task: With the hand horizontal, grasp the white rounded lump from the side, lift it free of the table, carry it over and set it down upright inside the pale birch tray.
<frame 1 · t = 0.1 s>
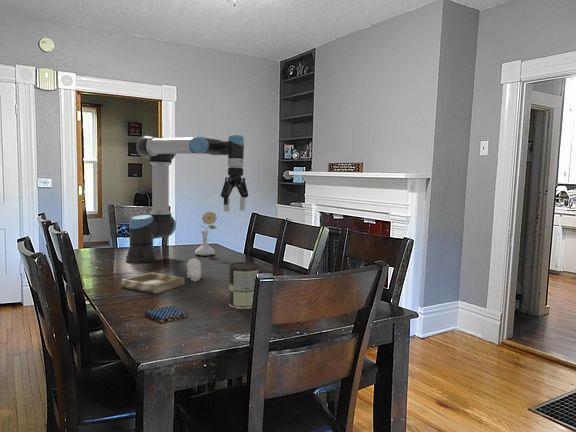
hand: (234, 211, 213), 28 cm above the table, tool pointing down, fingers open, 13 cm apart
white rounded lump: (194, 279, 188), on the table
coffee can: (243, 305, 151), on the table
flower in vase: (206, 255, 247), on the table
woven mat: (166, 318, 137), on the table
birch tray: (153, 285, 175), on the table
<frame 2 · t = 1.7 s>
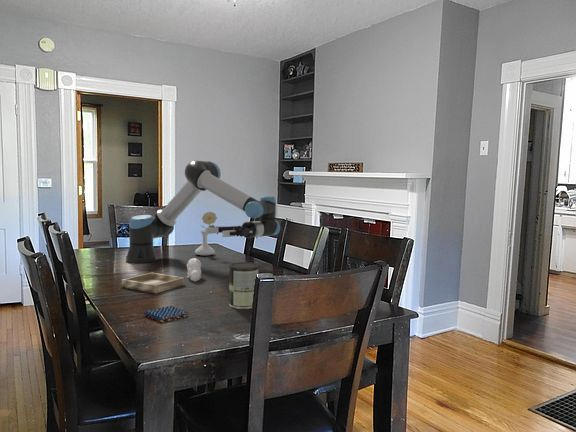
hand: (214, 232, 193), 20 cm above the table, tool horizontal, fingers open, 13 cm apart
nothing on the table moved.
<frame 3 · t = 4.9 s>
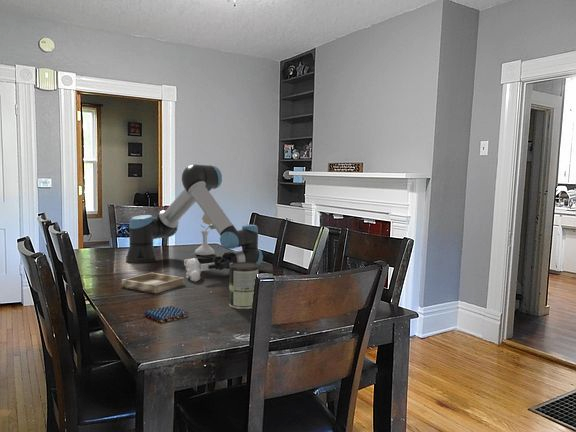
hand: (192, 265, 186), 6 cm above the table, tool horizontal, fingers open, 13 cm apart
nothing on the table moved.
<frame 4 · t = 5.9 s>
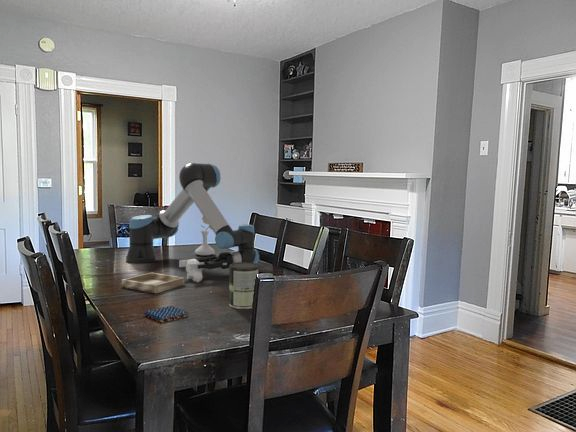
hand: (184, 265, 184), 7 cm above the table, tool horizontal, fingers closed on white rounded lump, 8 cm apart
white rounded lump: (195, 280, 186), on the table, touching gripper
everything else where it was.
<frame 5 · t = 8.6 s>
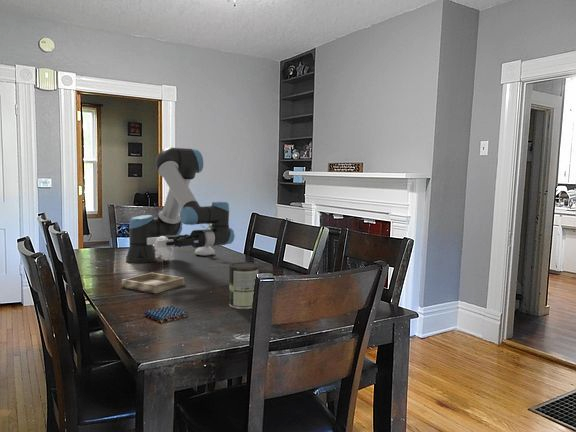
hand: (152, 242, 172), 18 cm above the table, tool horizontal, fingers closed on white rounded lump, 8 cm apart
white rounded lump: (164, 259, 174), point 11 cm above the table, touching gripper
everything else where it was.
when the fingers open (9 cm above the table, at t = 11.1 s): white rounded lump drops 1 cm, resting on birch tray.
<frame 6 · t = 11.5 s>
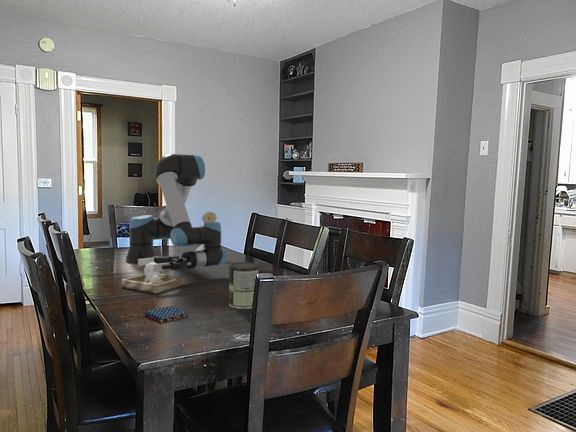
hand: (145, 265, 172), 9 cm above the table, tool horizontal, fingers open, 13 cm apart
white rounded lump: (153, 285, 173), point 1 cm above the table, touching birch tray
everything else where it was.
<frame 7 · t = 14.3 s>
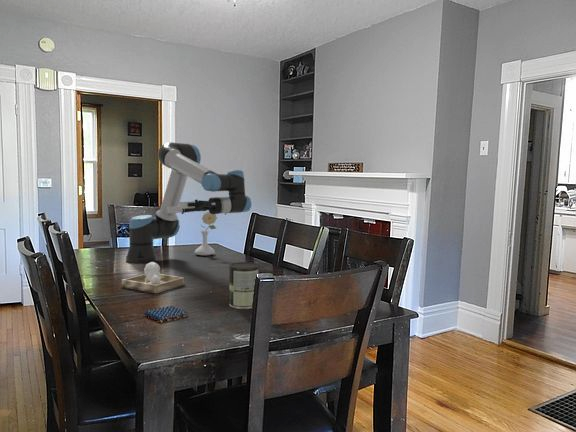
hand: (173, 207, 183), 31 cm above the table, tool horizontal, fingers open, 13 cm apart
nothing on the table moved.
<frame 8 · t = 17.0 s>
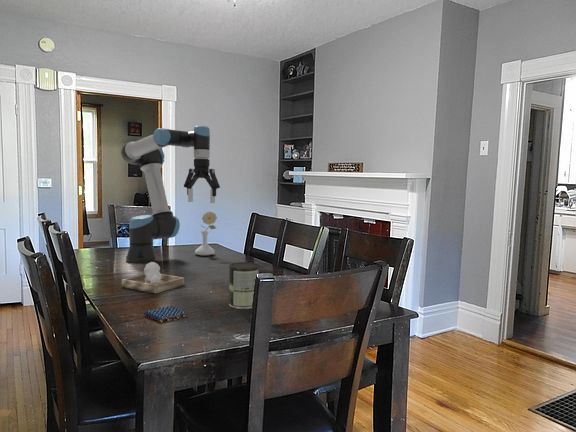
hand: (201, 202, 212), 32 cm above the table, tool pointing down, fingers open, 13 cm apart
nothing on the table moved.
at the end: white rounded lump inside the target area on the birch tray (2.0 cm from its centre), point 0.6 cm above the birch tray's base; white rounded lump tilted 0°; the gripper is holding nothing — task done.
